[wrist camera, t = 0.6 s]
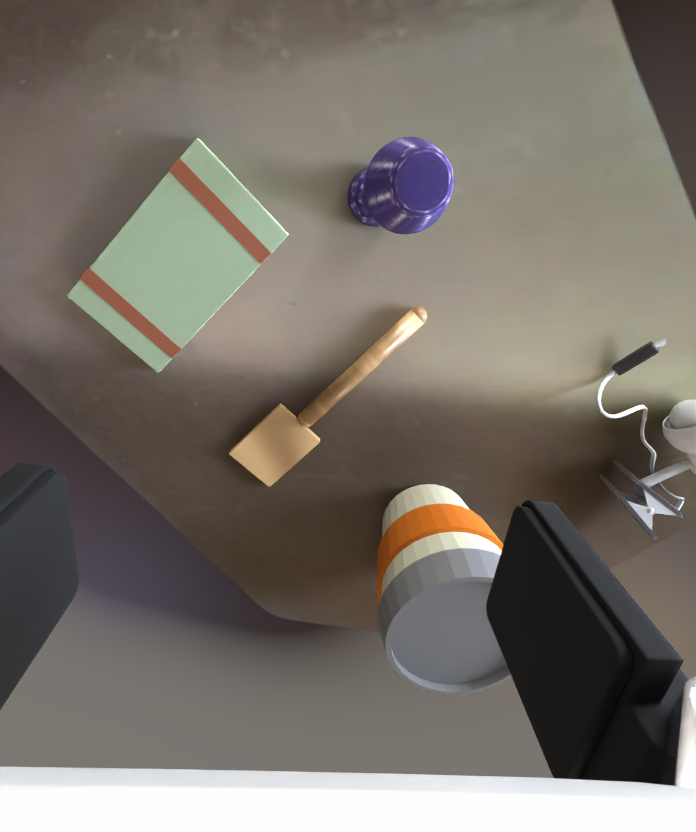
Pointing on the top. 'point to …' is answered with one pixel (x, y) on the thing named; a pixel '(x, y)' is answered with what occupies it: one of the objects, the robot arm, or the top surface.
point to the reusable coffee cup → (438, 593)
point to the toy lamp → (403, 187)
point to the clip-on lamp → (684, 429)
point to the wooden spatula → (313, 411)
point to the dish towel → (178, 258)
